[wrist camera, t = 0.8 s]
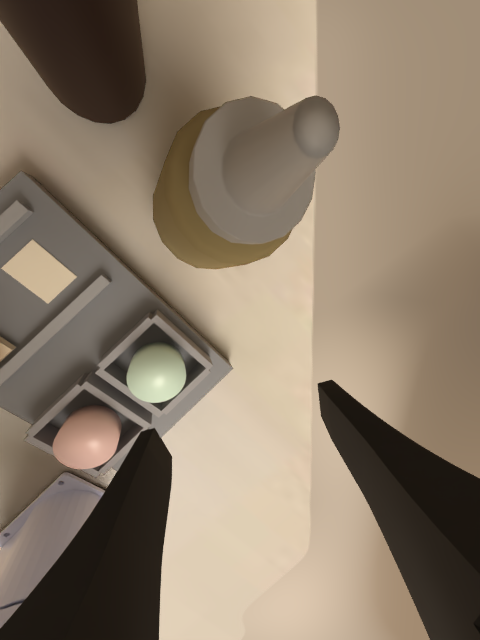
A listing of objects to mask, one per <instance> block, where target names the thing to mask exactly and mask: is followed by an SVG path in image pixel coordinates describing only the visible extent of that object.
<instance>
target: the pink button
mask: <svg viewBox="0 0 480 640" xmlns="http://www.w3.org/2000/svg"><path fill="white" fill-rule="evenodd" d="M121 428H122V424H121V420H120V418H119V416H118V415H117V414H116V413H115V412H114V411H113V410H111V409H109V408H107V407H104V406H99V405H90V406H85V407H82V408H79V409H77V410H75V411H74V412H72V413H71V414H70V415H69V416H68V417H67V419H66V420H65V422H64V423H63V425H62V427H61V428H60V430H59V432H58V434H57V435H56V437H55V439H54V442H53V453H54V455H55V457H56V458H57V460H58V461H59V462H61V463H62V464H63V465H65V466H67V467H70V468H74V469H90V468H94V467H97V466H100V465H102V464H103V463H105V462H107V461H108V460H109V459H110V458H111V457H112V456H113V454H114V453H115V451H116V449H117V445H118V441H119V437H120V433H121Z"/></svg>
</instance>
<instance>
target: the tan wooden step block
mask: <svg viewBox="0 0 480 640" xmlns="http://www.w3.org/2000/svg"><path fill="white" fill-rule="evenodd" d="M15 348H16V346H14V345H13V344H11V343H10V342H8V341H7V340H5V339H3V338H2V337H0V362H1V361H2V360H3V359H4V358H5V357H6V356H7V355H8V354H9V353H11V352H12V351H13V350H14V349H15Z"/></svg>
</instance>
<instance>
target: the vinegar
mask: <svg viewBox="0 0 480 640" xmlns="http://www.w3.org/2000/svg"><path fill="white" fill-rule="evenodd" d="M0 21H1V22H2V24H3V25H4V26H5V28H6V29H7V31H8V32H9V33H10V35H11V36H12V38H13V39H14V40H15V42H16V43H17V44H18V46H19V47H20V49H21V50H22V51H23V53H24V54H25V56H26V57H27V58H28V60H29V61H30V63H31V64H32V65H33V67H34V68H35V69H36V71H37V72H38V74H39V75H40V76H41V78H42V79H43V81H44V82H45V83H46V85H47V86H48V87H49V89H50V90H51V91H52V92H53V93H54V95H55V96H56V97H57V98H58V99H59V101H60V102H61V103H62V104H64V105H65V106H66V107H68V108H69V109H70V110H72V111H73V112H74V113H76V114H77V115H79V116H81V117H84V118H86V119H89V120H91V121H93V122H99V123H114V122H118V121H121V120H125V119H126V118H127V117H128V116H130V115H131V114H132V113H133V112H135V111H136V109H137V107H138V105H139V104H140V102H141V100H142V98H143V95H144V89H145V83H146V76H145V68H144V59H143V50H142V42H141V33H140V25H139V16H138V7H137V0H0Z"/></svg>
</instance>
